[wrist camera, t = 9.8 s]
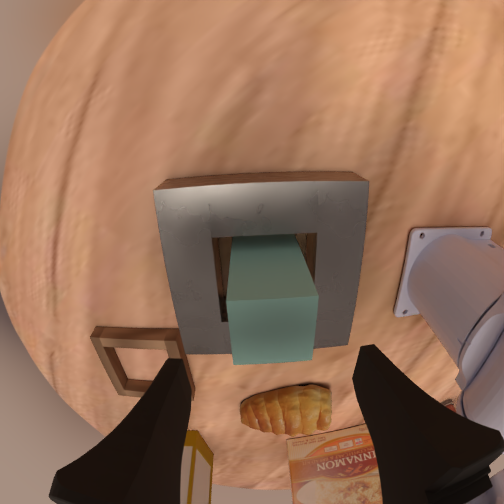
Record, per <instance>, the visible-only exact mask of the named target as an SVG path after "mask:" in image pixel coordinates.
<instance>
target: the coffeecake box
mask: <svg viewBox="0 0 504 504" xmlns="http://www.w3.org/2000/svg"><path fill="white" fill-rule="evenodd" d="M287 452H288V463H289V473H290V483H291V492H292V503H293V504H383V501H382V491H381V483H380V476H379V470H378V464H377V459H376V455H375V450H374V446H373V443H372V439H371V436H370V434H369V431H368V428H367V425H366V424H363V425H359V426H356V427H352V428H347V429H343V430H338V431H334V432H329V433H324V434H318V435H313V436H307V437H301V438H294V439H287Z"/></svg>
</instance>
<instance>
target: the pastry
mask: <svg viewBox="0 0 504 504" xmlns="http://www.w3.org/2000/svg"><path fill="white" fill-rule="evenodd" d="M331 394H332V393H331V391H330V390H329V389H326V388H323V387H320V386H318V385H312V384H309V385H308V386H298V385H296V386H290V387H286V388H282V389H276V390H272V391H268V392H264V393H260V394H257V395H254V396H252V397H251V398H249V399H246V400H244V401H243V403H242V404H241V405H240V414H241V422H242V423H243V424H245V425H247V426H249V427H250V428H253V429H258V430H261V431H262V432H273V433H274V434H276V435H278V434H288V435H290V436H292V437H294V436H296V435H297V434H299V433H301V434H305V435H311V434H312V433H313V432H314V431H315V430H323V431H324V430H327V429H328V428H329V426H330V424H331V414H332V410H331V406H332V405H331V403H332V400H331Z"/></svg>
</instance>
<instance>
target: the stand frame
mask: <svg viewBox="0 0 504 504" xmlns="http://www.w3.org/2000/svg"><path fill="white" fill-rule="evenodd" d="M90 339H91V341H92V343H93V345H94V347H95V350H96V352H97V354H98V356H99V358H100V360H101V362H102V364H103V366H104V368H105V370H106V372H107V374H108V376H109V378H110V380H111V382H112V384H113V386H114V387H115V389H116V391H117V393H118V395H122V396H131V397H142V396H143V395H144V393H145V392H146V390H147V389H148V388H149V386H150V385H151V383H152V382H153V381H142V380H130V379H127V376H126V374H125V372H124V370H123V368H122V366H121V363H120V361H119V359H118V357H117V354H116V352H115V350H114V347H117V348H134V349H158V350H167V352H168V356H169V358H182V359H183V361H184V365H185V368H186V372H187V375H188V379H189V382H190V385H191V389H192V396H191V401H194V395H195V386H194V383H193V379H192V376H191V372H190V369H189V365H188V361H187V357H186V354H185V350H184V347H183V343H182V339H181V335H180V330H179V329H148V328H115V327H95V329H94V331H93V333H92V334H91V336H90Z"/></svg>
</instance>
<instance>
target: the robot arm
mask: <svg viewBox="0 0 504 504" xmlns="http://www.w3.org/2000/svg"><path fill="white" fill-rule="evenodd" d="M421 233H422V236H421V237H420V234H421ZM480 233H481V234H480ZM491 235H492V229H491V228H489V227H445V228H414V229H413V230H412V231H411V232H410V235H409V241H408V247H407V253H406V258H405V264H404V269H403V274H402V278H401V283H400V287H399V292H398V296H397V300H396V304H395V308H394V315H395V316H396V317H404V316H410V315H416V314H421V315H422V317H423V318H424V319H425V321H426V322H427V323H428V325H429V326H430V328H431V329H432V330H433V332H434V333H435V335H436V336H437V337H438V339H439V340H440V342H441V343H442V345H443V346H444V347H445V349H446V350H447V352H448V353H449V355H450V356H451V358H452V359H453V361H454V362H455V364H456V365H457V367H458V368H459V373H458V375H457V377H456V379H455V380H456V382H457V383H458V385H459V387H460V388H461V390H462V391H461V393H460V394H459V396H458V399H457V404H456V412H454V411H452V410H450V409H449V408H447V407H445V406H444V405H442V404H441V403H439V402H438V401H437V400H435V399H434V398H432V397H431V396H429V395H428V394H427V393H426V392H424V391H423V390H422V389H421V388H419V387H418V386H417V385H416V384H415V383H413V382H412V381H411V380H410V379H409V378H408V377H407V376H406V375H405V374H404V373H403V372H402V371H400V370H399V369H398V368H397V367H396V366H395V365H394V364H393V363H392V362H391V361H390V360H389V359H388V358H387V357H386V356H385V355H384V354H383V353H382V352H381V351H380V350H379V349H378V348H377V347H376V346H375V345H374V344H372V345H366V346H361V347H360V351H359V355H358V359H357V363H356V366H355V370H354V374H353V377H352V380H353V384H354V389H355V393H356V397H357V401H358V403H359V406H360V409H361V412H362V414H363V417H364V420H365V423H366V425H367V428H368V431H369V434H370V436H371V439H372V443H373V446H374V450H375V455H376V459H377V464H378V470H379V476H380V483H381V491H382V501H383V504H504V469H503V470H501V471H500V472H498V473H497V474H495V475H494V476H492V477H491V478H489V476H488V474H489V473H490V472H491V469H490V467H489V465H490V464H491V463H492V462H493V461H494V460H496V459H497V458H498V457H499V456H500V455H501V454H504V249H503V248H502V247H500V246H499V245H497V244H496V243H495V242H493V241H492V240H490V239H491ZM404 310H405V311H404ZM403 311H404V312H403ZM191 396H192V389H191V385H190V382H189V379H188V375H187V372H186V368H185V365H184V361H183V359H182V358H168V359H167V360H166V361H165V363H164V365H163V366H162V368H161V369H160V371H159V373H158V374H157V376H156V377H155V379H154V380H153V382H152V383H151V385H150V386H149V388H148V389H147V390H146V392H145V393H144V395H143V396H142V397H141V399H140V400H139V401H138V403H137V404H136V405H135V406H134V408H133V409H132V410H131V411H130V413H129V414H128V415H127V416H126V417H125V418H124V419H123V420H122V422H121V423H120V424H119V425H118V426H117V427H116V428H115V429H114V430H113V431H112V432H111V433H110V434H109V435H107V436H106V437H105V438H104V439H103V440H102V441H101V442H100V443H98V444H97V445H96V446H95V447H93V448H92V449H91V450H89V451H88V452H87V453H85V454H84V455H83V456H81V457H80V458H78V459H77V460H75V461H73V462H72V463H70V464H68V465H67V466H65V467H63V468H61V469H60V470H58V471H57V472H56V474H55V477H54V479H53V483H52V486H51V490H50V493H49V498H50V499H51V500H52V501H54V502H55V503H57V504H180V487H181V464H182V455H183V450H184V444H185V439H186V433H187V428H188V422H189V417H190V411H191Z"/></svg>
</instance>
